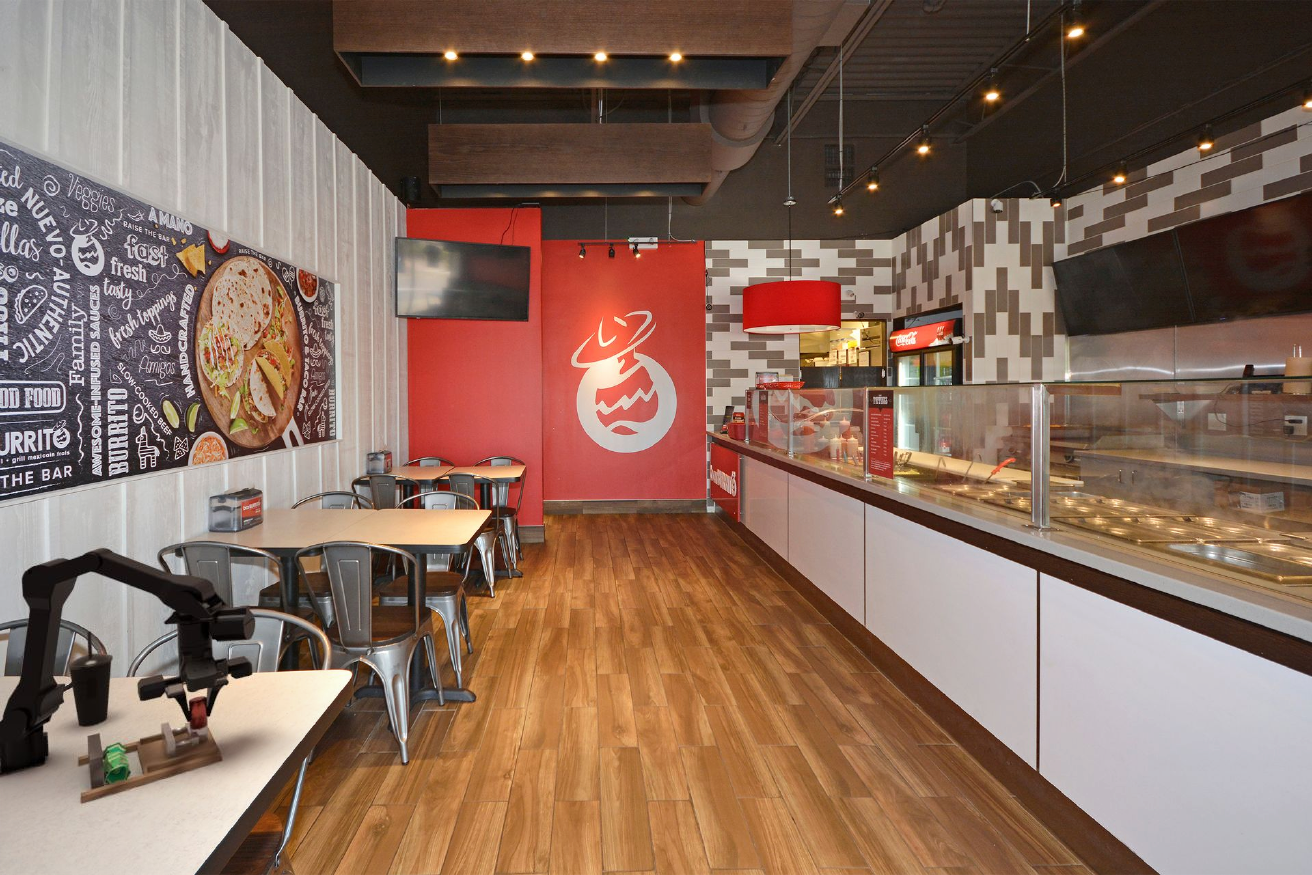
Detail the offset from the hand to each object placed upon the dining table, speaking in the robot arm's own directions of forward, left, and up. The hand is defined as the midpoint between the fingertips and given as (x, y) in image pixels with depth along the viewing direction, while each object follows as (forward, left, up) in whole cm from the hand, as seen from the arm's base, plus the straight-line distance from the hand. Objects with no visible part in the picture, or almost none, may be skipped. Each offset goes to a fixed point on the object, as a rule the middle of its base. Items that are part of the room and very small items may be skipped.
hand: (198, 718), depth 137 cm
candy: (-13, 0, -6) cm, 15 cm away
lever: (-2, 0, -4) cm, 5 cm away
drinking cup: (-16, +30, -6) cm, 34 cm away
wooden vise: (-8, 0, -6) cm, 10 cm away
